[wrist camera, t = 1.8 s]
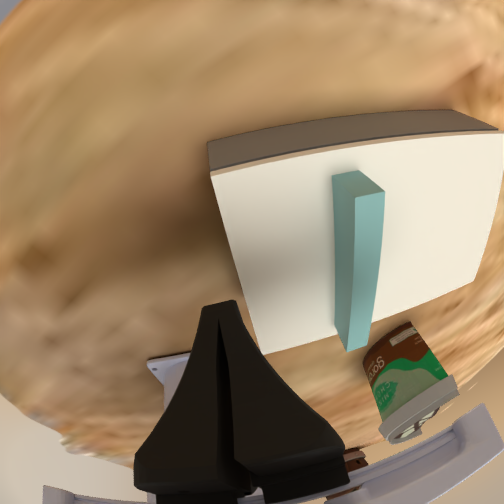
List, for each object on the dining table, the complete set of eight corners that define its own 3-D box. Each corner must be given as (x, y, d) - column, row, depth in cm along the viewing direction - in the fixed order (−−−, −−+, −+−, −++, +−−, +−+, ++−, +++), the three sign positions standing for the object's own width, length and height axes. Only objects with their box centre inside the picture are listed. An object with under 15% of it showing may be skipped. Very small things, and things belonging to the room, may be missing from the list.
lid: (470, 276, 17) (488, 298, 15) (260, 348, 17) (268, 383, 15) (502, 130, 11) (534, 146, 9) (210, 171, 11) (213, 201, 9)
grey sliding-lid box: (437, 242, 21) (467, 274, 18) (248, 296, 21) (259, 344, 17) (452, 109, 14) (498, 128, 11) (206, 142, 14) (210, 169, 11)
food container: (359, 331, 26) (403, 422, 18) (413, 312, 26) (462, 391, 18) (348, 388, 33) (374, 455, 25) (391, 372, 33) (420, 435, 25)
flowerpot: (315, 456, 55) (336, 528, 39) (375, 438, 57) (399, 504, 40) (308, 468, 63) (324, 528, 47) (359, 453, 65) (379, 510, 49)
